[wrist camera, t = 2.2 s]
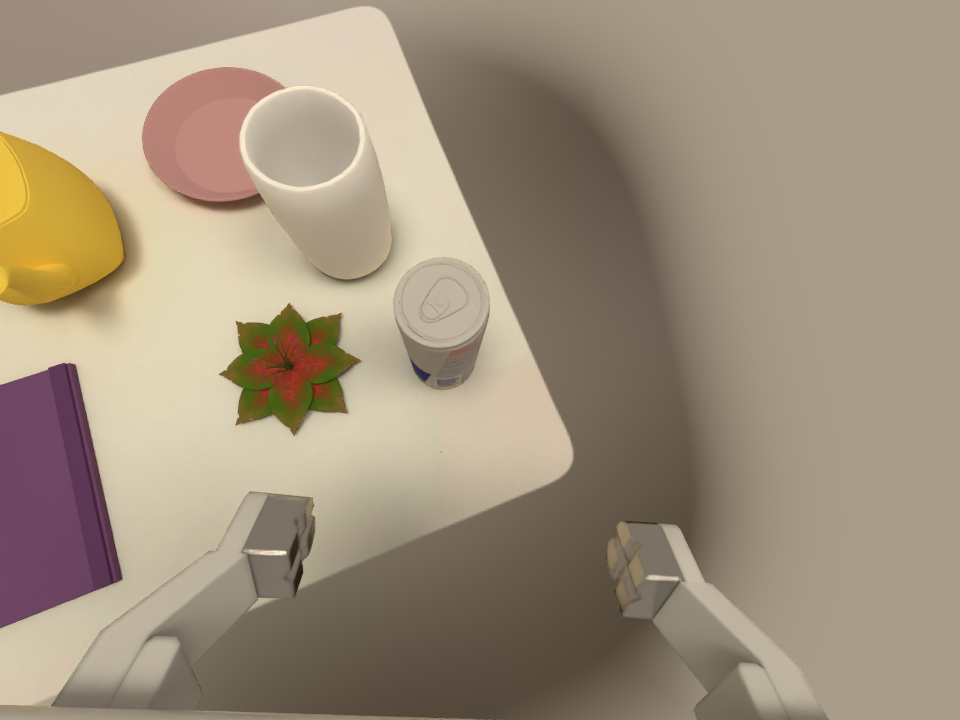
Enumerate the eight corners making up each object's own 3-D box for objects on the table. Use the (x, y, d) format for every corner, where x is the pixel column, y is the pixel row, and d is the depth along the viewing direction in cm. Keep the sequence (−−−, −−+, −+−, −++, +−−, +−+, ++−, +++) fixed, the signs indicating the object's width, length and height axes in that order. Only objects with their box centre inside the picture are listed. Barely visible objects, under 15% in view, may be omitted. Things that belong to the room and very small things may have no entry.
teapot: (178, 306, 38) (78, 249, 28) (50, 371, 36) (-109, 336, 26) (93, 150, 41) (-27, 44, 31) (-30, 202, 39) (-204, 109, 29)
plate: (332, 182, 42) (327, 168, 40) (182, 234, 40) (169, 223, 38) (281, 66, 45) (273, 49, 43) (136, 110, 42) (121, 93, 40)
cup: (371, 191, 42) (335, 61, 28) (413, 262, 41) (396, 162, 27) (289, 228, 41) (208, 110, 27) (329, 303, 39) (267, 220, 26)
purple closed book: (122, 579, 33) (113, 582, 33) (-22, 636, 32) (-35, 641, 31) (75, 364, 37) (66, 361, 36) (-58, 406, 35) (-71, 405, 34)
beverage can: (479, 334, 40) (498, 263, 25) (469, 394, 39) (483, 356, 24) (418, 324, 40) (402, 246, 25) (406, 384, 38) (382, 338, 24)
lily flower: (221, 308, 39) (192, 289, 34) (359, 297, 40) (348, 277, 35) (220, 446, 36) (188, 444, 32) (367, 429, 37) (357, 426, 33)
